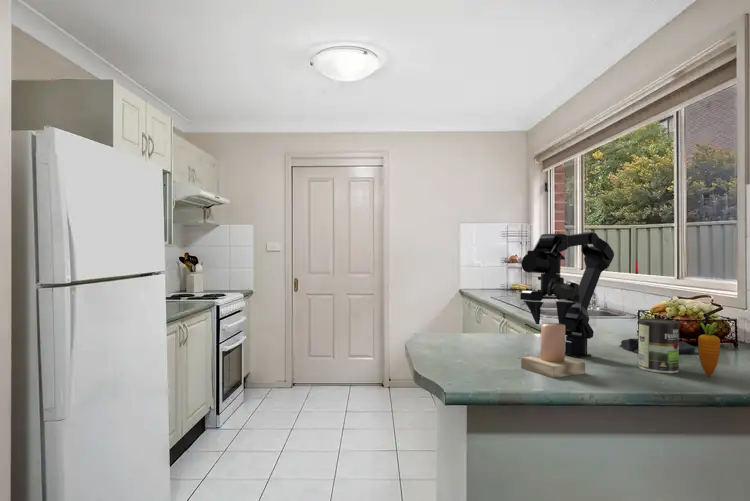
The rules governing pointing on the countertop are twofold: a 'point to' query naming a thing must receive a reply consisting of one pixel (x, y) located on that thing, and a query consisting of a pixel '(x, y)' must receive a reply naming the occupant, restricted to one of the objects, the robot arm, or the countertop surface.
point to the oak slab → (553, 366)
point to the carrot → (709, 348)
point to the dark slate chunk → (634, 346)
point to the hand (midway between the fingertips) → (549, 324)
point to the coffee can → (659, 345)
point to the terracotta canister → (553, 342)
